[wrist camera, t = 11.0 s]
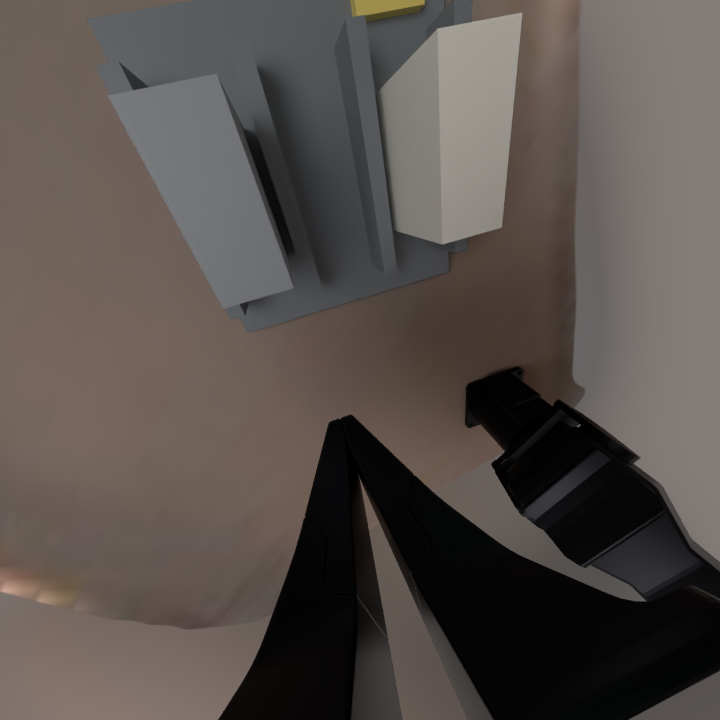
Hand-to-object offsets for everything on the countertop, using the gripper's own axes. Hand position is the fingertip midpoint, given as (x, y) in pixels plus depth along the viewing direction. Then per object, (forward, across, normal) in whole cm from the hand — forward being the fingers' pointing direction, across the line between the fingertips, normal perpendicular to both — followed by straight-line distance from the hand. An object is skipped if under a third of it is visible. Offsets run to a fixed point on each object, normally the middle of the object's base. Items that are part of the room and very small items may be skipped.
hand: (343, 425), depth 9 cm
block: (+11, -8, -7) cm, 15 cm away
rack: (+12, -3, -7) cm, 14 cm away
